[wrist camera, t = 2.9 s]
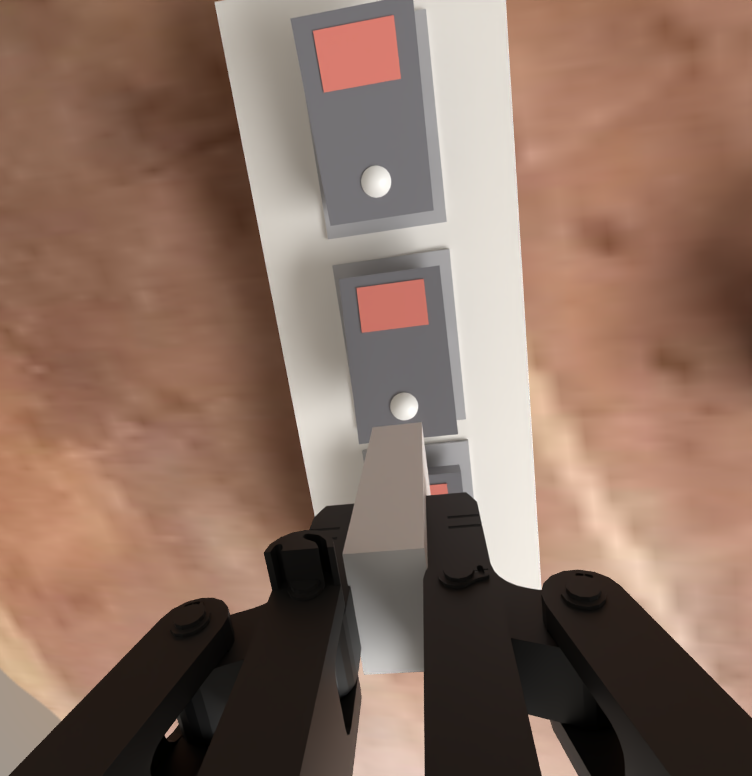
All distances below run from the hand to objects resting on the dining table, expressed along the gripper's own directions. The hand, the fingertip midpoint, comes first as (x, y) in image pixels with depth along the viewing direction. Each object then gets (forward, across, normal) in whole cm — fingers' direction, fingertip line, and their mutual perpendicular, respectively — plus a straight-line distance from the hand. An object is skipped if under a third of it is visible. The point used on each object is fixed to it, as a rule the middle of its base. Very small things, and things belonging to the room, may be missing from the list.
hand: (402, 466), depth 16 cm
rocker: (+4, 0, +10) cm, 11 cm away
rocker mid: (+4, 0, +2) cm, 5 cm away
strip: (+10, 0, +7) cm, 12 cm away
